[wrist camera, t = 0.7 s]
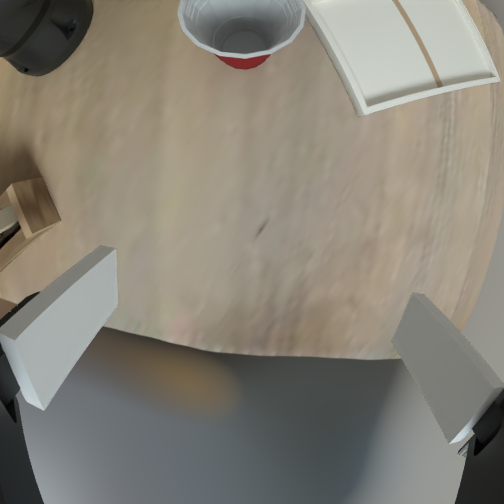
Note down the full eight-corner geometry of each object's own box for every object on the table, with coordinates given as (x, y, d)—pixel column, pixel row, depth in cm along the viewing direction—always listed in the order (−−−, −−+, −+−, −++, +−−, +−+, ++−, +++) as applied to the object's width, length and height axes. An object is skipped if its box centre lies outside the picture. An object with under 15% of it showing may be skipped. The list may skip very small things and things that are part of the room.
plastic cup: (295, 87, 30) (314, 56, 18) (203, 93, 30) (177, 64, 19) (287, 13, 26) (300, -37, 15) (200, 19, 26) (178, -29, 15)
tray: (299, 5, 26) (301, -3, 23) (447, -8, 21) (453, -12, 19) (358, 117, 31) (364, 115, 28) (492, 82, 26) (500, 81, 24)
